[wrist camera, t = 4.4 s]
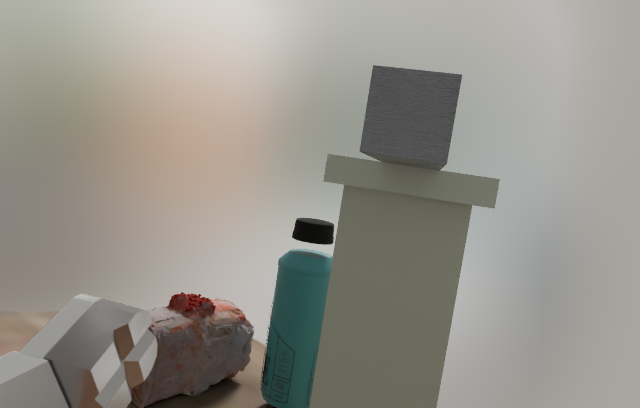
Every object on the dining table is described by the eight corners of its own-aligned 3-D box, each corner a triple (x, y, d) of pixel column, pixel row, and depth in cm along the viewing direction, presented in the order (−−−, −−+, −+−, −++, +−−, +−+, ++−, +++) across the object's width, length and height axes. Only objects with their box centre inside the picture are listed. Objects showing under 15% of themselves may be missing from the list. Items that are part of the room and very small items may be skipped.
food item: (207, 356, 60) (218, 279, 60) (252, 380, 56) (264, 297, 55) (102, 386, 49) (114, 292, 49) (148, 419, 45) (161, 316, 44)
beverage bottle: (330, 422, 49) (362, 227, 47) (271, 431, 46) (302, 222, 44) (300, 391, 55) (328, 216, 53) (245, 398, 51) (273, 211, 50)
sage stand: (414, 648, 27) (499, 179, 25) (260, 595, 28) (327, 154, 26) (418, 490, 40) (473, 180, 38) (314, 461, 42) (361, 163, 40)
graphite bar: (446, 163, 16) (462, 74, 16) (359, 151, 17) (373, 65, 17) (434, 174, 38) (441, 136, 38) (396, 168, 39) (402, 131, 38)
